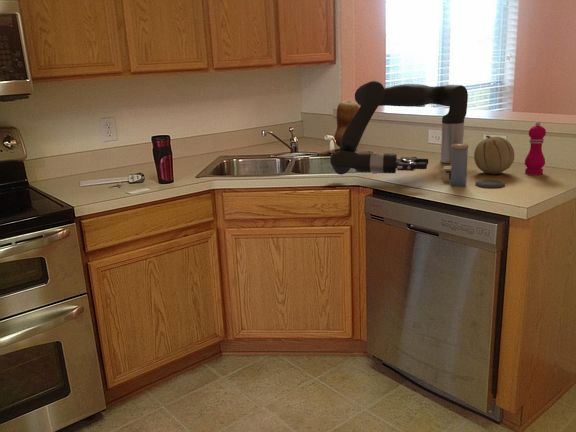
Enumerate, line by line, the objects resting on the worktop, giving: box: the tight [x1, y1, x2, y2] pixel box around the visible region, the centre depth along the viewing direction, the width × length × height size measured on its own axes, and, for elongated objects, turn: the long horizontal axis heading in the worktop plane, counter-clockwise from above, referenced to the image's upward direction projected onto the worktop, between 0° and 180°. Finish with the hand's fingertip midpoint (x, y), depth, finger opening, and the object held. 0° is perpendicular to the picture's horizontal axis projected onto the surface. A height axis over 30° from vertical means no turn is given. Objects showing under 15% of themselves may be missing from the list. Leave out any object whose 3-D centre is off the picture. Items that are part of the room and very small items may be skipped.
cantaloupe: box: [473, 135, 515, 175], centre depth 209 cm, size 15×15×15 cm
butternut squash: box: [333, 100, 360, 148], centre depth 279 cm, size 14×13×25 cm
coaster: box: [475, 179, 506, 189], centre depth 194 cm, size 10×10×1 cm
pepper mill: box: [524, 121, 547, 176], centre depth 205 cm, size 7×7×20 cm
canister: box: [449, 143, 469, 188], centre depth 194 cm, size 6×6×15 cm
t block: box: [442, 165, 451, 183], centre depth 203 cm, size 5×5×5 cm
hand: (427, 163), depth 197 cm, fingers open, 8 cm apart
